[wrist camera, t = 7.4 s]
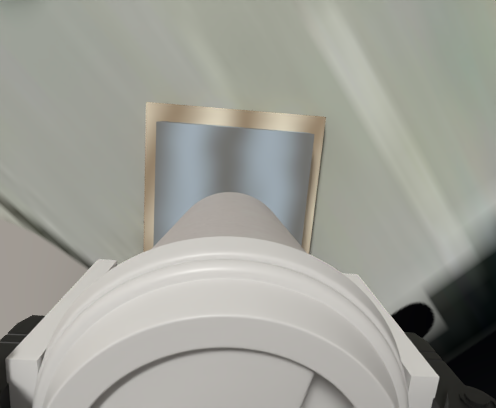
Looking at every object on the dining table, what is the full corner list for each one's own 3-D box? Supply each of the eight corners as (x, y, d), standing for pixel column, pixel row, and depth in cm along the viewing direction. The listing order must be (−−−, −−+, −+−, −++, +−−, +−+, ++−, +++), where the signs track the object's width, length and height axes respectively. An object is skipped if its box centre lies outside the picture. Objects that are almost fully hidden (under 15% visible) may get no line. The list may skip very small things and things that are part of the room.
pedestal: (321, 116, 35) (334, 117, 31) (302, 274, 39) (311, 295, 34) (149, 102, 34) (137, 100, 30) (146, 265, 38) (135, 285, 33)
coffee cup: (240, 344, 24) (251, 699, 9) (117, 256, 22) (-104, 521, 8) (341, 233, 23) (540, 450, 8) (217, 130, 21) (178, 164, 6)
